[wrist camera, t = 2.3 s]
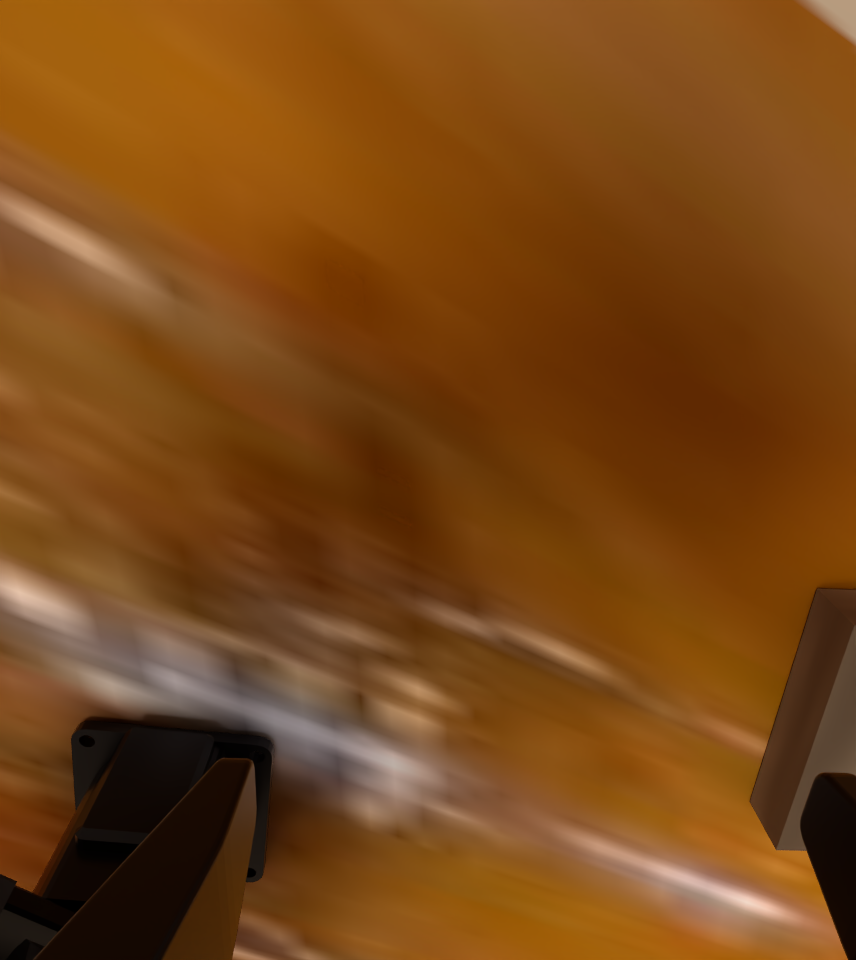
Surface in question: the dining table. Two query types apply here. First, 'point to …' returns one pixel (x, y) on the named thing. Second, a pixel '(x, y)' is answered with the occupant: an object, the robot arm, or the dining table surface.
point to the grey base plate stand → (811, 719)
